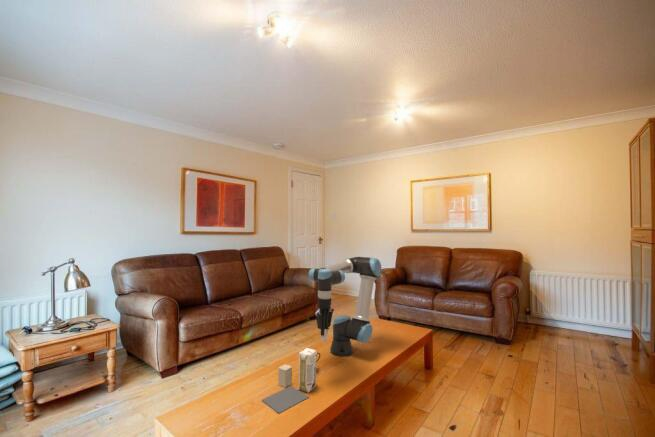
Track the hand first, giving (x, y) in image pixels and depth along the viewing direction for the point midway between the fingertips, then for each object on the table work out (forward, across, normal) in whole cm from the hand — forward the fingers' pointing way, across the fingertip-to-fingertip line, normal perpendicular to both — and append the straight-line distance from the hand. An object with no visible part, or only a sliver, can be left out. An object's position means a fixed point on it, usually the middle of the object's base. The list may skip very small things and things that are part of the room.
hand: (323, 341), depth 163 cm
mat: (+21, +26, 0) cm, 33 cm away
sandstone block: (+21, +18, -11) cm, 30 cm away
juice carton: (+21, +12, 0) cm, 24 cm away
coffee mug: (+21, -2, -12) cm, 25 cm away
